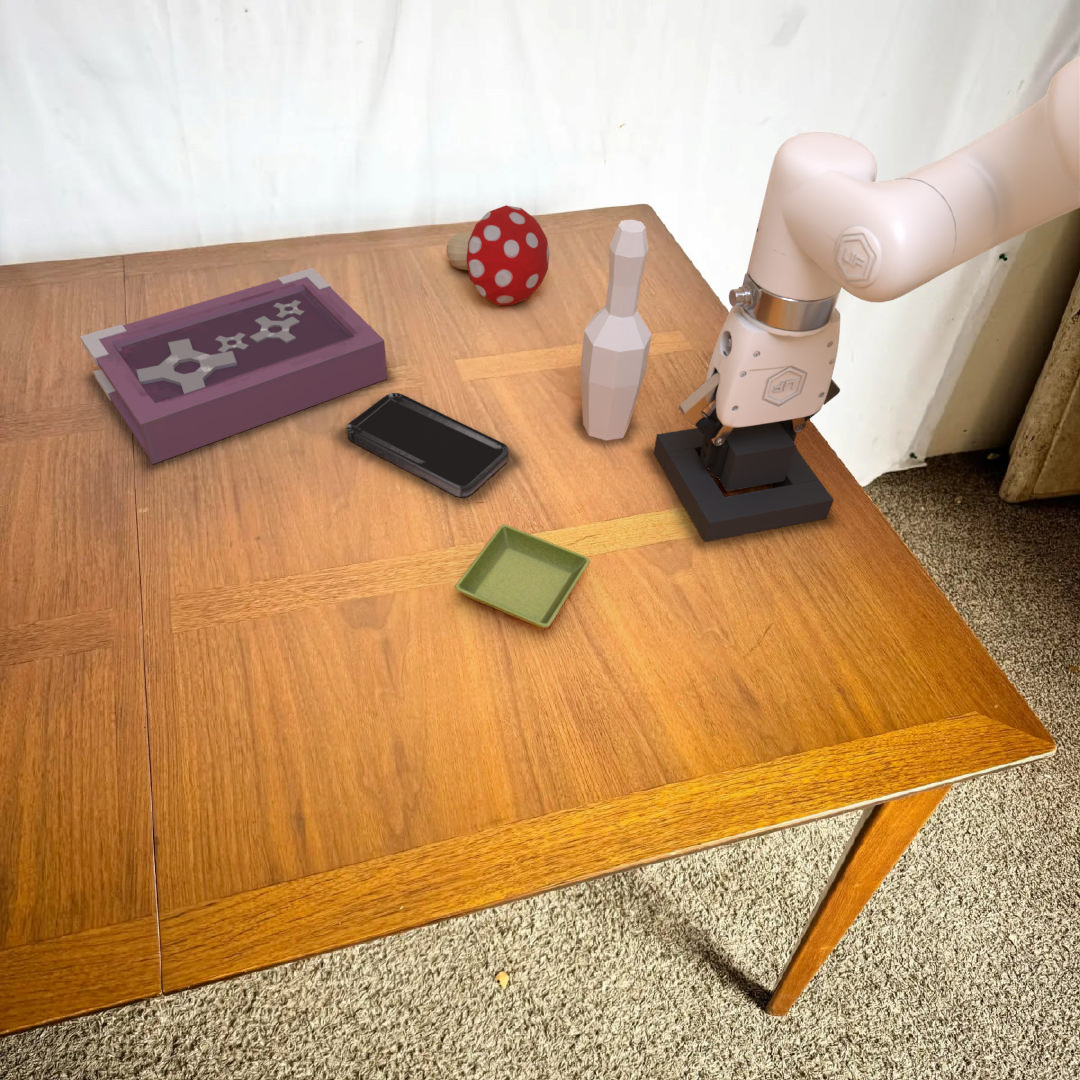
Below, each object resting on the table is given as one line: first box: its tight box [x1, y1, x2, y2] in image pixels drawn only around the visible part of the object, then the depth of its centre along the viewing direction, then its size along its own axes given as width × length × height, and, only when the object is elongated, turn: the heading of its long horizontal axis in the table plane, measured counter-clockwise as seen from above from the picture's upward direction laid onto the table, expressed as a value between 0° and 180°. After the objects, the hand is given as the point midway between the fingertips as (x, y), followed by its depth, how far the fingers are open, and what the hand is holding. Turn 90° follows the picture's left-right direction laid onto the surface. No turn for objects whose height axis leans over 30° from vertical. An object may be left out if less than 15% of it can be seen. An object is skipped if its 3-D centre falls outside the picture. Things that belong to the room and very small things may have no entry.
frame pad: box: [653, 427, 834, 543], centre depth 92 cm, size 13×13×2 cm
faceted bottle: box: [580, 219, 653, 441], centre depth 90 cm, size 6×6×22 cm
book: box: [79, 267, 388, 465], centre depth 99 cm, size 25×16×5 cm, turn 126°
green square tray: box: [454, 524, 591, 629], centre depth 81 cm, size 9×9×2 cm
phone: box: [346, 392, 510, 498], centre depth 94 cm, size 8×1×15 cm
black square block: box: [701, 420, 797, 492], centre depth 90 cm, size 6×6×4 cm
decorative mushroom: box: [446, 204, 551, 307], centre depth 113 cm, size 11×11×15 cm
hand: (743, 461), depth 91 cm, fingers closed on black square block, 5 cm apart
